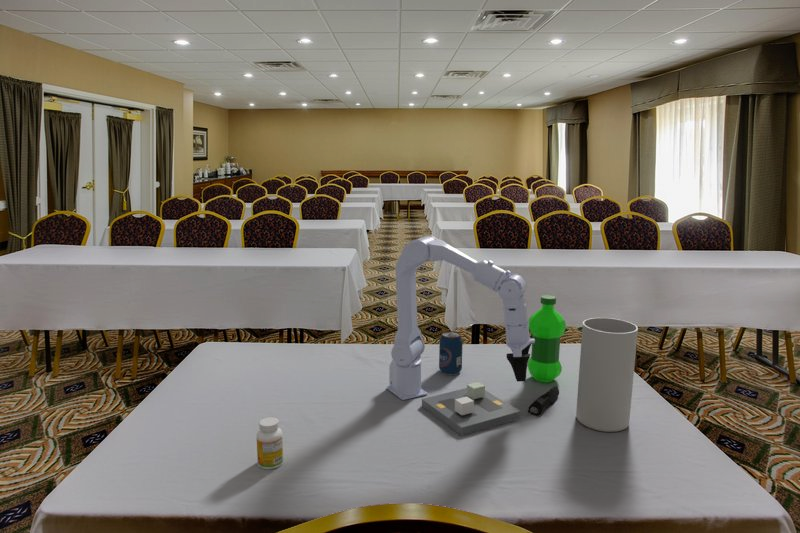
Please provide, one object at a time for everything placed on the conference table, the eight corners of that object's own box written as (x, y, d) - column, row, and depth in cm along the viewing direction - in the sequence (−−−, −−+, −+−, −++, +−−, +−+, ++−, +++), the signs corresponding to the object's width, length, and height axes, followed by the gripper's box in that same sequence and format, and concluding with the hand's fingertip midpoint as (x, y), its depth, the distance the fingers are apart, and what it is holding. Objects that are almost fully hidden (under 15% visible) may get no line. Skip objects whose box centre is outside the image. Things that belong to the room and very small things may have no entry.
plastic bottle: (567, 378, 168) (573, 296, 163) (550, 389, 161) (556, 303, 155) (537, 369, 175) (541, 290, 170) (519, 379, 167) (523, 297, 162)
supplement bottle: (260, 457, 125) (258, 416, 123) (284, 456, 125) (283, 415, 123) (256, 470, 119) (253, 428, 117) (282, 469, 120) (280, 427, 118)
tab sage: (466, 395, 151) (467, 384, 150) (477, 392, 152) (478, 381, 152) (473, 399, 148) (473, 388, 148) (484, 396, 150) (484, 385, 149)
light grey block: (454, 410, 142) (455, 399, 141) (466, 407, 143) (466, 396, 143) (461, 415, 139) (462, 404, 139) (473, 412, 141) (474, 400, 140)
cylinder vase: (590, 435, 135) (598, 334, 130) (567, 411, 147) (573, 318, 142) (639, 431, 137) (648, 332, 132) (612, 408, 149) (620, 316, 144)
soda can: (434, 371, 173) (434, 333, 171) (449, 365, 178) (450, 328, 175) (451, 377, 168) (451, 339, 166) (466, 371, 173) (467, 334, 170)
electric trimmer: (562, 397, 156) (563, 387, 156) (539, 417, 144) (540, 406, 143) (549, 394, 158) (550, 383, 158) (526, 414, 146) (526, 402, 146)
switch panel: (421, 405, 150) (421, 398, 149) (476, 392, 158) (477, 385, 158) (461, 435, 134) (461, 427, 134) (520, 418, 143) (520, 410, 143)
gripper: (532, 330, 133) (537, 385, 135) (533, 314, 147) (538, 365, 149) (501, 332, 135) (507, 386, 137) (506, 316, 149) (511, 366, 151)
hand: (521, 375), depth 143 cm, fingers open, 7 cm apart
